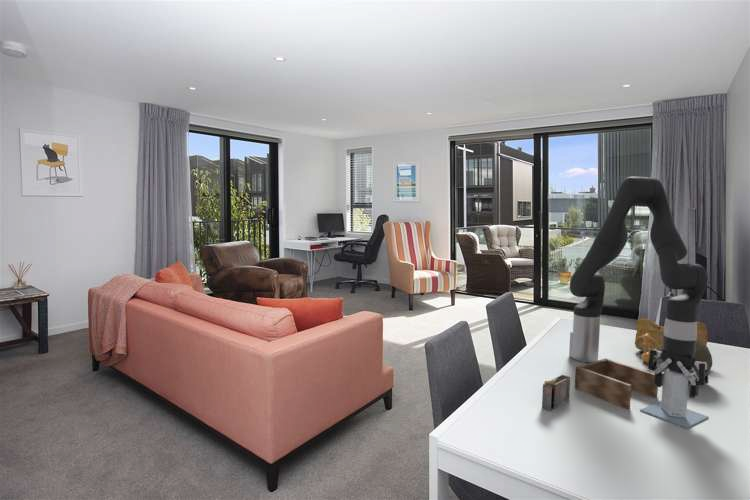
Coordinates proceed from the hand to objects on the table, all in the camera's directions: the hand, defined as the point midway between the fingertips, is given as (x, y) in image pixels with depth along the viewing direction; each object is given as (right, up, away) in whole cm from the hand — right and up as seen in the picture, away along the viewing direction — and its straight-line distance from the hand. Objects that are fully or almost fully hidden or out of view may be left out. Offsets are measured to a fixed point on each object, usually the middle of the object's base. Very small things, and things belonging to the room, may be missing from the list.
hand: (675, 391), depth 125 cm
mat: (0, -7, +1) cm, 7 cm away
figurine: (+17, -3, +41) cm, 44 cm away
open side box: (-9, -5, +15) cm, 18 cm away
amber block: (+32, -2, +51) cm, 61 cm away
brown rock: (+20, -4, +25) cm, 33 cm away
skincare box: (0, -6, +1) cm, 6 cm away
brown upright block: (-31, -7, +7) cm, 32 cm away
